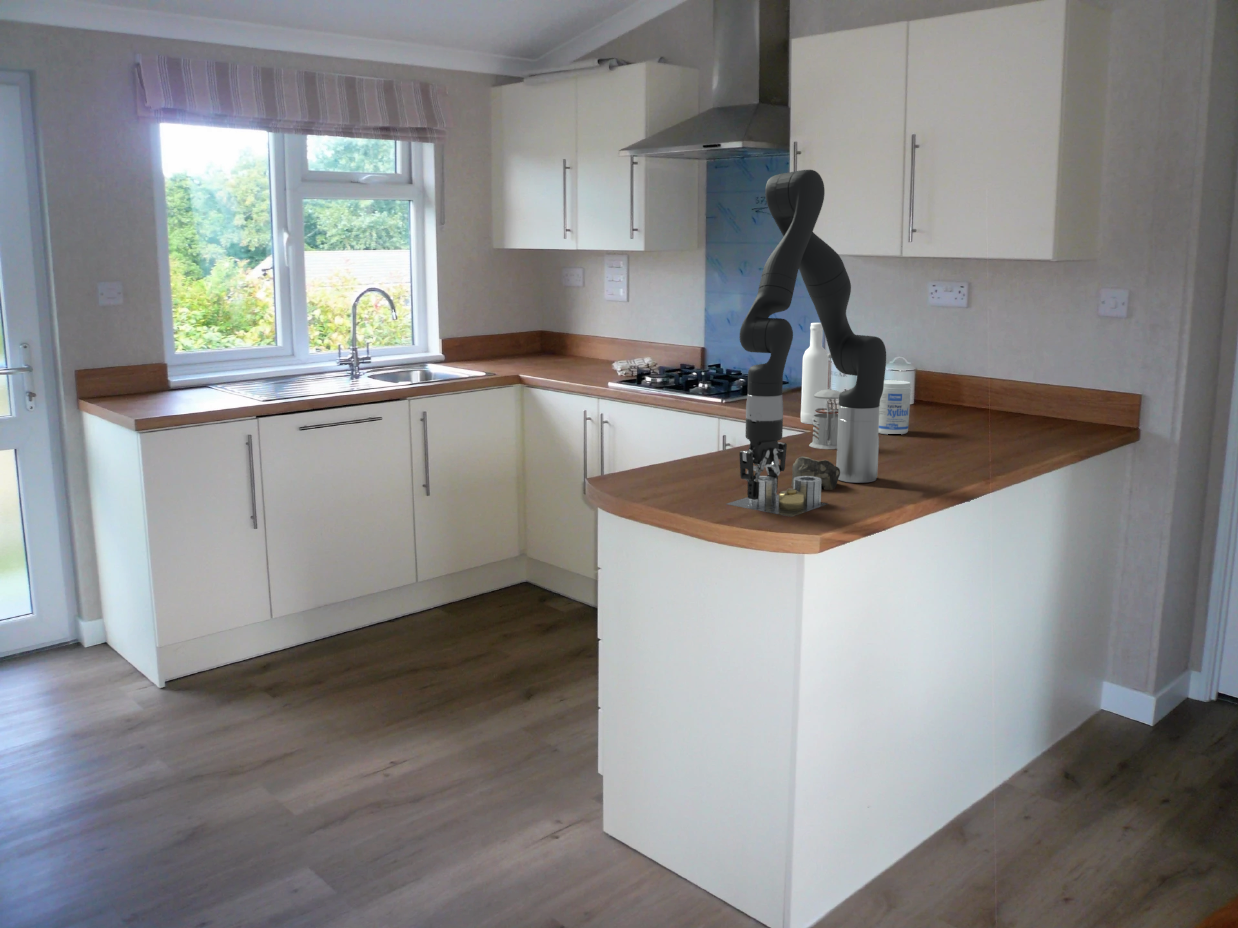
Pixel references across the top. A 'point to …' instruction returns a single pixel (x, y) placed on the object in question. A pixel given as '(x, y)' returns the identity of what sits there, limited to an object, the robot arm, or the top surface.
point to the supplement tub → (894, 407)
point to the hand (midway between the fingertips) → (762, 495)
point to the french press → (826, 420)
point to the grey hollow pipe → (809, 489)
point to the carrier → (781, 504)
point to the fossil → (816, 471)
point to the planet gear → (766, 491)
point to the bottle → (814, 375)
